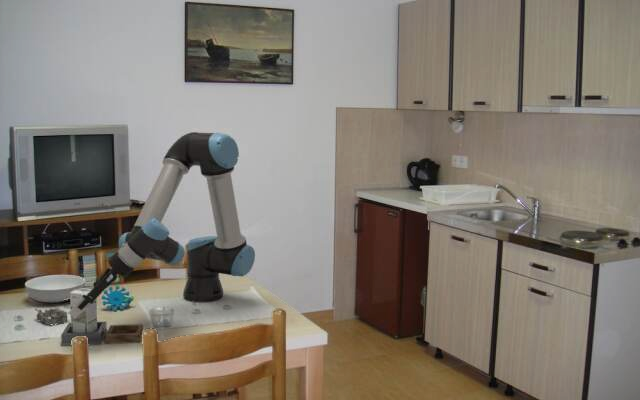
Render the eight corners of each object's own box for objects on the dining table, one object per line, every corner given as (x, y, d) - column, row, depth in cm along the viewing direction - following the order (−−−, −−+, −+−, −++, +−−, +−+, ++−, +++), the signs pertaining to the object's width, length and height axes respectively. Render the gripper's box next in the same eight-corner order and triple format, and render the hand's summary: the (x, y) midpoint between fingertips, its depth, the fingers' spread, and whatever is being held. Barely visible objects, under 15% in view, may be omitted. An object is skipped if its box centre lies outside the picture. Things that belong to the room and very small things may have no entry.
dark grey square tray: (107, 331, 212) (107, 321, 211) (101, 344, 200) (101, 333, 200) (68, 333, 210) (68, 322, 209) (60, 346, 198) (60, 334, 198)
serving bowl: (25, 310, 232) (24, 291, 231) (25, 294, 251) (25, 276, 250) (87, 304, 240) (87, 286, 240) (83, 289, 259) (83, 272, 259)
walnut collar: (142, 331, 213) (142, 323, 212) (139, 342, 203) (139, 334, 203) (110, 332, 211) (110, 325, 211) (105, 343, 201) (105, 335, 201)
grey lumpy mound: (34, 320, 222) (33, 308, 222) (55, 315, 228) (55, 304, 227) (48, 327, 215) (47, 315, 215) (70, 322, 221) (70, 310, 220)
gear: (100, 308, 231) (103, 283, 237) (99, 316, 235) (102, 291, 241) (132, 310, 234) (135, 286, 240) (131, 318, 238) (133, 294, 244)
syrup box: (98, 333, 207) (97, 288, 205) (86, 340, 201) (85, 293, 199) (82, 331, 208) (81, 287, 206) (70, 337, 202) (69, 291, 200)
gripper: (121, 243, 215) (74, 289, 215) (111, 260, 191) (57, 312, 190) (139, 259, 217) (92, 304, 216) (130, 278, 192) (77, 329, 192)
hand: (76, 308), depth 203 cm, fingers open, 13 cm apart
